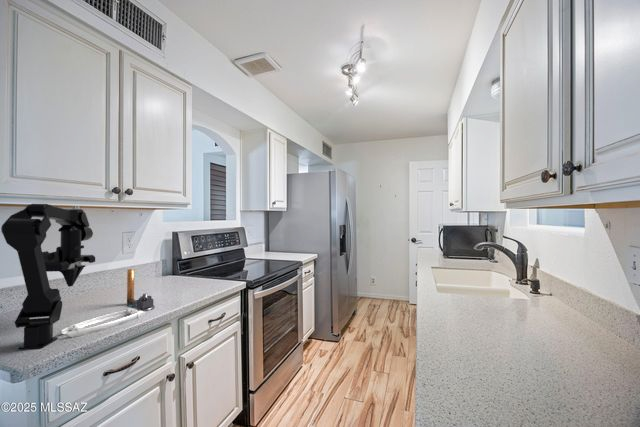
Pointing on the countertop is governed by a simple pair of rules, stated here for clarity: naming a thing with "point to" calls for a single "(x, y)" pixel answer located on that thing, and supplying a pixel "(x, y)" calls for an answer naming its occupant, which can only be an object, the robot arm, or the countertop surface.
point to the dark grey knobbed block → (145, 308)
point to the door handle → (80, 330)
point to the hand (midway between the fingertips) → (70, 286)
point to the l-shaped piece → (130, 293)
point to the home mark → (131, 305)
